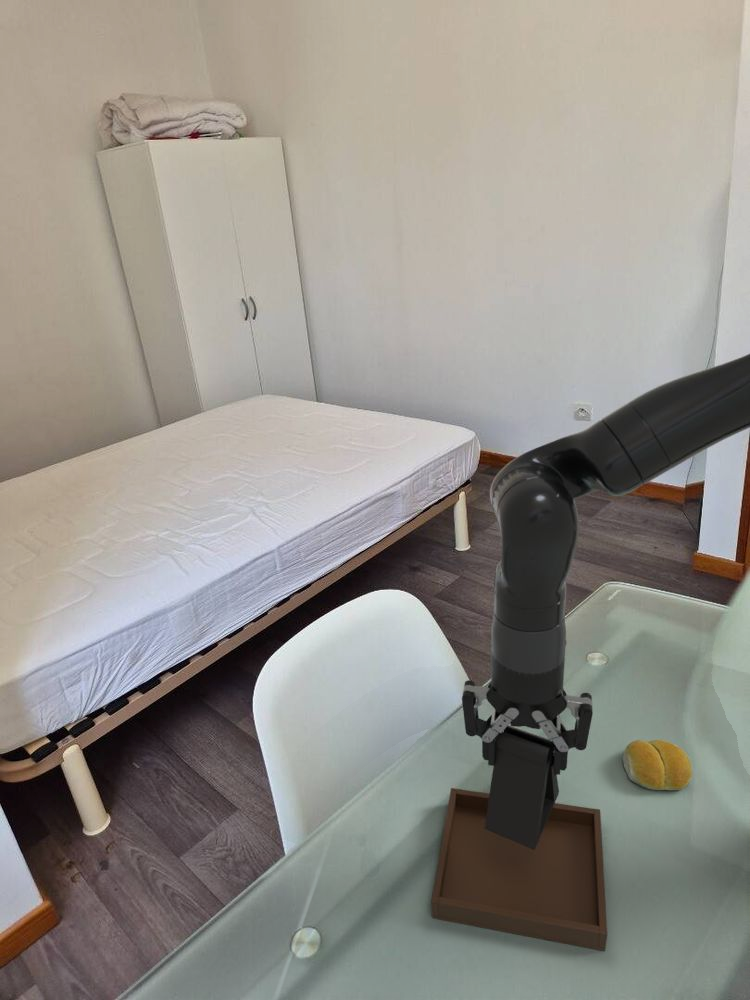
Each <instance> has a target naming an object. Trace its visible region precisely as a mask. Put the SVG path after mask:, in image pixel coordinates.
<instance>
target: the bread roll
mask: <svg viewBox="0 0 750 1000" xmlns="http://www.w3.org/2000/svg"><path fill="white" fill-rule="evenodd" d="M622 761H623V767H624V770H625V772H626V775H627V777H628V778H629V779H630V780H631V781H632V782H633V783H634V784H637V785H639V786H640V787H643V788H645V789H647V790H654V791H679V790H683V789H685V788H686V787H687V786H688V784H689V783H690V781H691V779H692V773H693V766H692V763H691V760H690V758H689V756H688V755H687V753H686V752H685V751H684V750H683V749H682V748H681V747H680V746H677V745H676V744H674V743H671V742H669V741H666V740H663V739H652V740H648V741H644V740H642V739H641V740H640V739H637V740H634V741H632V742H630V743H629V744H628V745H627V746H626V747H625V749H624V752H623V755H622Z"/></svg>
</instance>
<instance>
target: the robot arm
mask: <svg viewBox="0 0 750 1000" xmlns="http://www.w3.org/2000/svg"><path fill="white" fill-rule="evenodd" d="M747 429H750V353H747V354H745V355H742V356H740V357H737V358H735V359H732V360H730V361H727V362H724V363H721V364H718V365H715V366H712V367H708V368H706V369H703V370H700V371H696V372H694V373H693V372H692V373H690V374H687V375H684V376H680V377H677V378H676V379H673V380H670V381H667V382H664V383H663V384H661V385H660V384H659V385H658V386H656V387H654V388H652V389H649V390H648V391H646V392H644V393H642V394H640V395H638V396H636V397H635V398H632V400H630V401H629V402H627V403H625V404H624V405H622V406H620V407H619V408H617V409H616V410H614V411H612V412H610V413H609V414H607V415H606V416H604V417H602V418H601V419H600V420H597V421H596V422H594V423H593V424H592V425H590V426H588V427H587V428H586V429H584V430H581V431H579V432H576V433H573V434H569V435H566V436H563V437H560V438H557V439H555V440H553V441H550V442H547V443H544V444H542V445H540V446H537V447H535V448H533V449H531V450H528V451H526V452H524V453H522V454H520V455H518V456H516V457H515V458H514V459H512V460H511V461H509V462H507V464H505V466H503V467H502V468H501V469H500V470H499V471H498V473H496V475H495V477H494V479H493V480H492V481H491V482H492V483H491V484H490V490H489V500H490V504H491V507H492V510H493V513H494V516H495V518H496V521H497V524H498V526H499V532H500V544H501V557H500V558H501V559H500V560H499V561H498V564H497V565H496V569H495V572H494V578H493V579H494V581H493V615H492V621H491V629H490V630H491V631H490V633H491V635H490V639H491V641H490V642H491V643H490V645H491V646H490V647H491V648H490V651H491V652H490V682H489V684H488V685H487V686H480V685H478V686H477V685H476V683H475V681H473V680H469V679H468V680H466V681H464V684H463V690H462V695H461V704H462V711H463V712H462V713H463V720H464V729H465V734H466V735H467V736H469V737H475V736H477V737H479V738H480V739H481V744H482V745H481V747H482V749H481V751H482V753H481V754H482V758H483V760H484V761H487V765H488V766H492V767H493V766H494V763H495V739H496V736H497V735H498V734H499V733H500V734H501V733H502V732H504V730H505V728H506V727H507V726H508V725H509V726H511V727H515V728H516V727H517V728H519V727H526V728H530V729H533V730H540V729H541V730H542V732H543V733H544V734H545V736H546V737H547V739H549V740H552V741H553V743H554V744H555V748H554V774H557V775H558V776H559V775H561V771H563V772H564V771H566V770H567V768H568V757H569V755H568V753H569V750H571V749H574V748H575V749H576V750H578V751H584V750H586V748H587V746H588V740H589V735H590V729H591V724H592V720H593V714H594V713H593V697H592V694H591V693H589V692H583V693H581V694H580V695H579V696H576V695H575V696H574V695H569V694H567V693H566V691H565V689H564V680H565V679H564V678H565V663H566V661H565V660H566V648H567V647H566V646H567V627H566V602H567V578H568V576H569V573H570V571H571V568H572V564H573V561H574V558H575V554H576V549H577V546H578V540H579V532H580V531H579V530H580V529H579V528H580V527H579V526H580V523H579V513H578V508H577V505H576V502H575V500H576V499H579V498H581V497H584V496H586V495H589V494H591V493H594V492H602V493H604V494H606V495H608V496H612V497H622V496H625V495H627V494H630V493H632V492H634V491H636V490H638V489H639V488H641V487H643V486H644V485H646V484H648V483H650V482H651V481H653V480H655V479H657V478H658V477H660V476H662V475H663V474H666V473H667V472H668V471H670V470H672V469H674V468H675V467H677V466H679V465H680V464H682V463H684V462H686V461H687V460H689V459H691V458H692V457H694V456H696V455H699V454H700V453H702V452H703V451H706V450H707V449H708V448H711V447H713V446H715V445H717V444H718V443H720V442H722V441H724V440H727V439H728V438H730V437H732V436H735V435H737V434H738V433H739V434H740V433H741V432H744V431H745V430H747ZM484 700H487V702H488V703H489V705H490V706H492V707H493V708H492V710H491V712H490V714H489V715H488V716H487V717H486V718H485V719H482V718H480V716H479V707H480V706H482V705H483V701H484ZM566 709H568V710H570V713H571V715H572V716H573V718H574V720H575V723H574V729H568V728H567V727H566V725H565V724H564V722H563V720H562V719H561V715H560V714H562V713H563V712H565V710H566Z"/></svg>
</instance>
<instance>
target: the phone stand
mask: <svg viewBox="0 0 750 1000" xmlns="http://www.w3.org/2000/svg"><path fill="white" fill-rule="evenodd" d="M554 748H555V744H554V743H553V741H552V740H551V739H550V740H549V739H548V738H546V737H543V736H541V735H537V734H534V733H531V732H528V731H526V730H522V729H519V728H518V727H517V728H516V727H515V726H511V725H510V724H509V725H508V726H507V727H506V728H505V730H504V731H503V732H502V733H501V734H500V733H499V734H498V735H497V736H496V739H495V763H494V766H492V767H493V768H492V774H491V780H490V787H489V801H488V808H487V814H486V821H485V829H487V830H489V831H491V832H494V833H496V834H498V835H501V836H503V837H505V838H508V839H510V840H512V841H514V842H517V843H519V844H521V845H524V846H526V847H528V848H531V849H533V850H535V848H536V846H537V843H538V841H539V839H540V836H541V834H542V831H543V829H544V827H545V824H546V822H547V820H548V817H549V815H550V813H551V810H552V808H553V806H554V803H556V801H557V798H558V796H559V793H560V789H559V782H558V776H557V775H558V774H554Z"/></svg>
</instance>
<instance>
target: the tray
mask: <svg viewBox="0 0 750 1000" xmlns="http://www.w3.org/2000/svg"><path fill="white" fill-rule="evenodd" d="M489 794H490V792H489V793H488V792H480V791H474V790H467V789H461V788H454V787H451V788H450V792H449V798H448V804H447V810H446V815H445V822H444V825H443V833H442V839H441V843H440V848H439V849H440V850H439V854H438V855H439V856H438V861H437V866H436V872H435V879H434V884H433V889H432V896H431V899H430V901H431V904H430V905H431V918H432V919H433V920H434V919H435V920H440V921H446V922H450V923H455V924H461V925H466V926H472V927H477V928H482V929H487V930H492V931H498V932H502V933H507V934H513V935H518V936H524V937H529V938H534V939H538V940H543V941H550V942H554V943H560V944H565V945H570V946H575V947H580V948H585V949H590V950H591V949H592V950H595V951H600V952H601V951H602V952H606V949H607V948H606V947H607V942H608V941H607V940H608V923H607V906H606V887H605V870H604V853H603V837H602V836H603V835H602V817H601V809H598V808H591V807H585V806H579V805H570V804H564V803H558V802H555V803H554V806H553V808H552V810H551V813H550V815H549V817H548V820H547V822H546V824H545V827H544V829H543V831H542V834H541V836H540V839H539V841H538V843H537V846H536V848H535V850H533V849H531V848H528V847H526V846H524V845H521V844H519V843H517V842H514V841H512V840H510V839H508V838H505V837H503V836H501V835H498V834H496V833H494V832H491V831H489V830H487V829H485V821H486V814H487V808H488V801H489Z"/></svg>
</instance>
